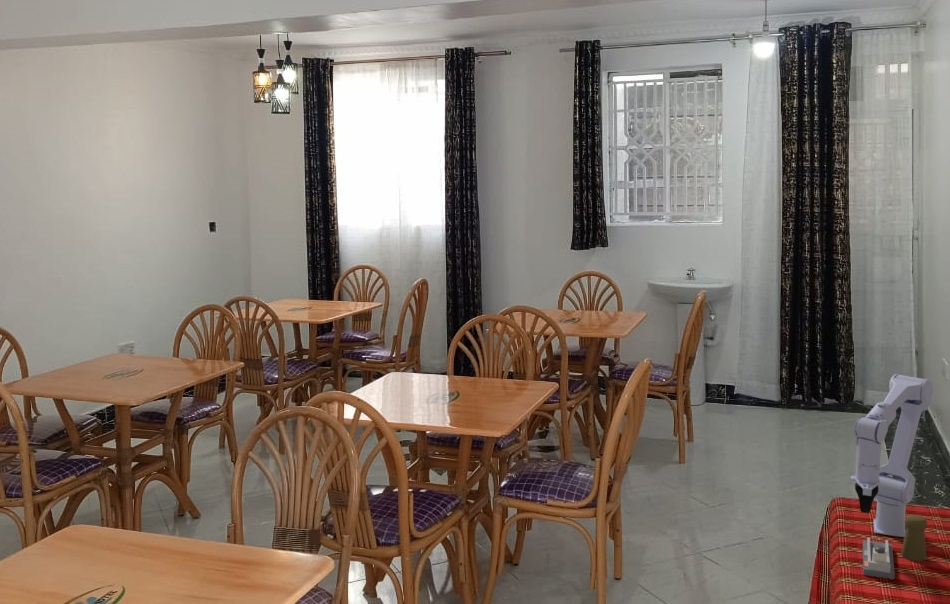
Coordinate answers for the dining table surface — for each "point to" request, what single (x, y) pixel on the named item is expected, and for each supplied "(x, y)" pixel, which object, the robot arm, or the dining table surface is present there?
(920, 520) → the brown tall tapered piece
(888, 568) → the board
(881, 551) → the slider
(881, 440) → the robot arm
